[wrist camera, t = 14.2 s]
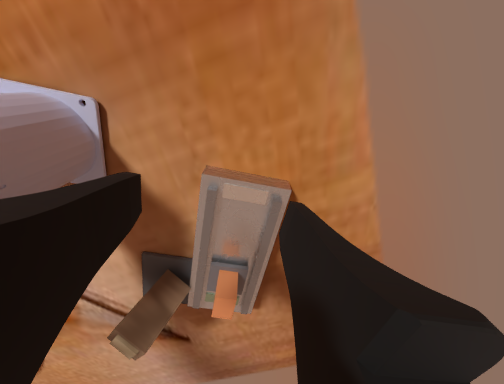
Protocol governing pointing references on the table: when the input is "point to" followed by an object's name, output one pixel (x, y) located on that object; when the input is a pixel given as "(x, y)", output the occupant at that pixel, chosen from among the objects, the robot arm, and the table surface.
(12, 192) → the robot arm
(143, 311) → the brown rectangular block
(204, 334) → the table surface
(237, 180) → the breaker panel
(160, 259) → the rubber pad
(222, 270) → the lever
